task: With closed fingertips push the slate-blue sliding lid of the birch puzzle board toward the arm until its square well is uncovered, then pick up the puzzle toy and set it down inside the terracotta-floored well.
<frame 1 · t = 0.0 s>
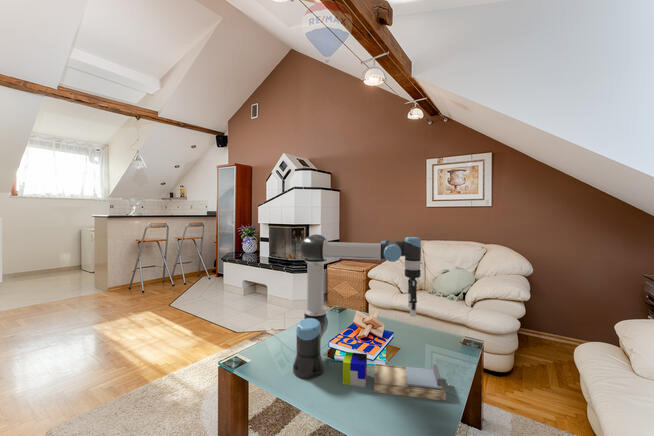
hand: (411, 311, 149), 28 cm above the table, fingers open, 13 cm apart
puzzle toy: (355, 379, 139), on the table
board: (407, 383, 135), on the table
lid: (422, 374, 134), point 5 cm above the table, slide at 0.0 cm
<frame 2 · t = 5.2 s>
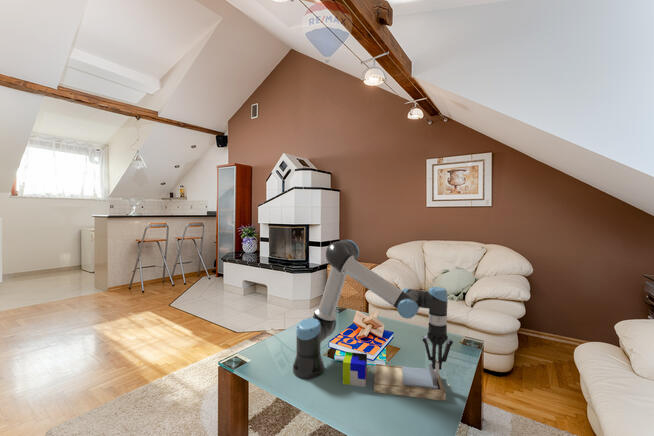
hand: (436, 375, 132), 5 cm above the table, fingers closed
lid: (418, 373, 134), point 5 cm above the table, slide at 1.7 cm, touching gripper
everything else where it was.
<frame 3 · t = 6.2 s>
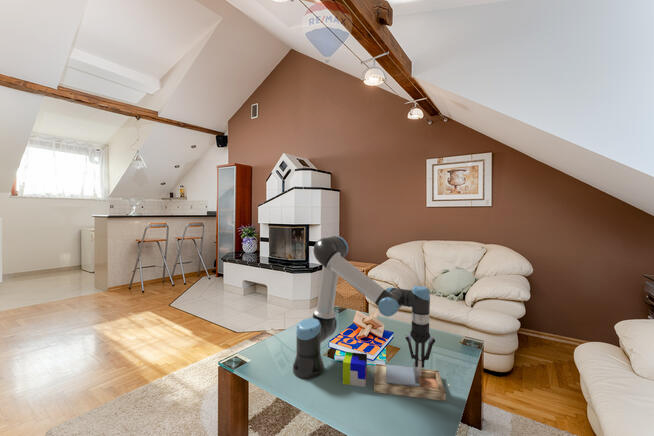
hand: (419, 373, 134), 5 cm above the table, fingers closed
lid: (402, 371, 135), point 5 cm above the table, slide at 9.0 cm, touching gripper
everything else where it was.
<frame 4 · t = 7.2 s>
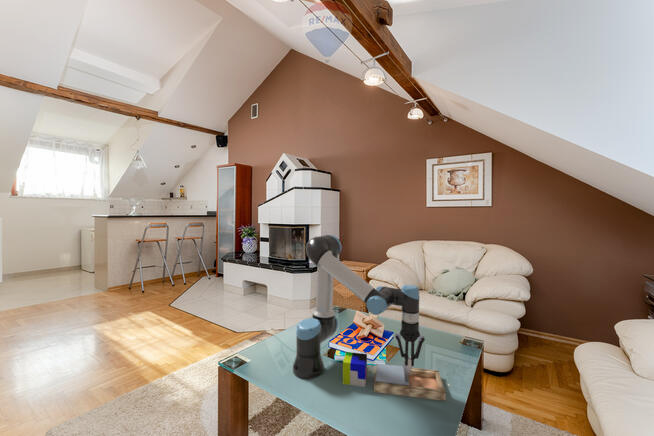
hand: (409, 372, 135), 5 cm above the table, fingers closed
lid: (392, 370, 136), point 5 cm above the table, slide at 13.3 cm, touching gripper
everything else where it was.
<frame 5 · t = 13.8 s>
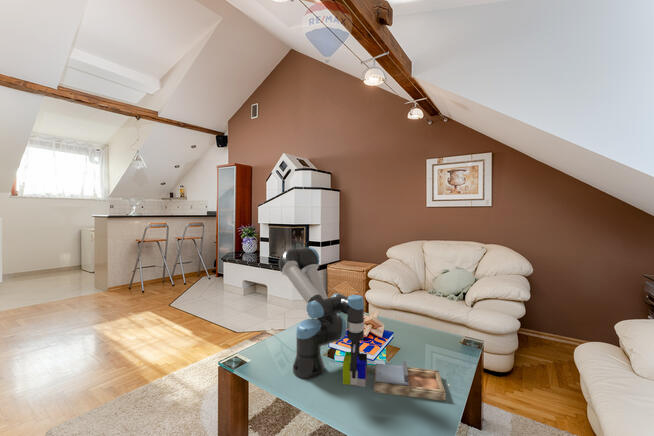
hand: (355, 377, 139), 1 cm above the table, fingers closed on puzzle toy, 10 cm apart
puzzle toy: (355, 379, 139), on the table, touching gripper
lid: (391, 370, 136), point 5 cm above the table, slide at 13.5 cm
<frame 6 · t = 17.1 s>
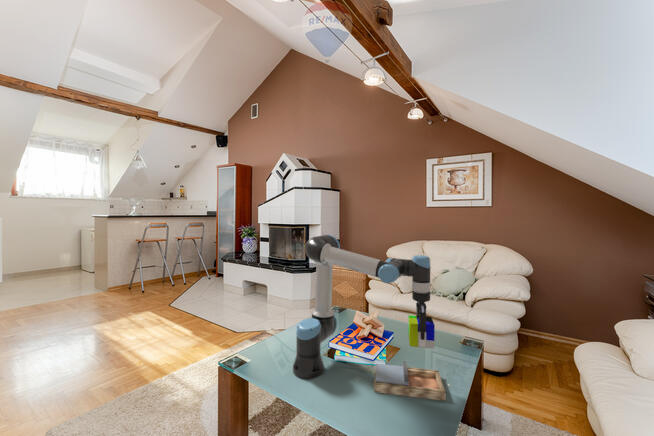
hand: (420, 340, 133), 20 cm above the table, fingers closed on puzzle toy, 10 cm apart
puzzle toy: (420, 342, 133), point 19 cm above the table, touching gripper
everything else where it was.
when the fingers open (5 cm above the table, at t = 20.2 s): puzzle toy drops 3 cm, resting on board.
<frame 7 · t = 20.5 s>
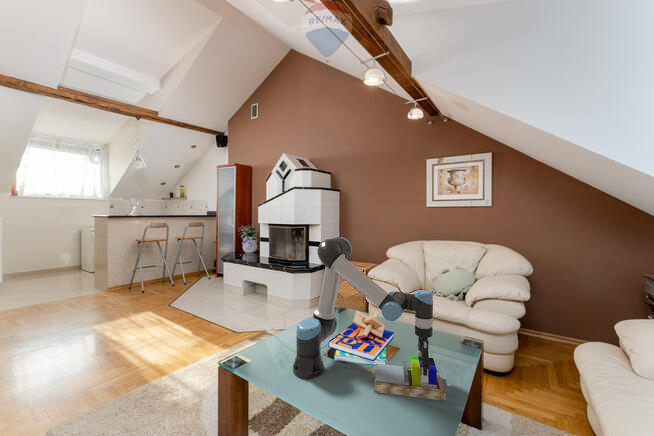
hand: (422, 373, 134), 6 cm above the table, fingers open, 13 cm apart
puzzle toy: (422, 384, 134), resting on board
everything else where it was.
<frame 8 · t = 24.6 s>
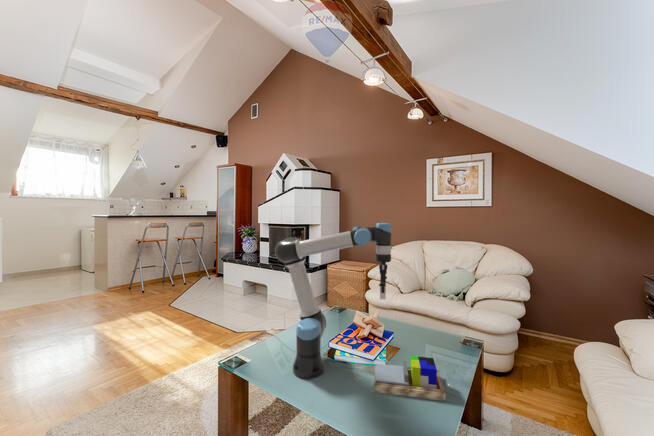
hand: (382, 295, 153), 35 cm above the table, fingers open, 13 cm apart
nothing on the table moved.
at the end: lid slide at 13.5 cm; puzzle toy inside the target area on the board (0.1 cm from its centre), point 0.4 cm above the board's base; puzzle toy tilted 0° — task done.
